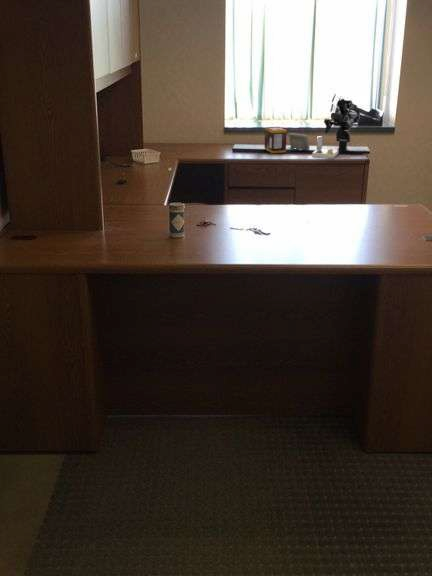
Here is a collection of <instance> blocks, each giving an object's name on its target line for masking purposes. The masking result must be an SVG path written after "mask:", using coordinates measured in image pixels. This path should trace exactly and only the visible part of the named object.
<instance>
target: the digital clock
mask: <svg viewBox="0 0 432 576" xmlns="http://www.w3.org/2000/svg"><path fill="white" fill-rule="evenodd" d="M288 138H289V144H290V149H291V148H296V149H304V148H305V149H304V150H310V142H309V136H308V135H307V134H300V133H294V132H293V133H292V132H289V133H288ZM296 149H295V150H296Z"/></svg>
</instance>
